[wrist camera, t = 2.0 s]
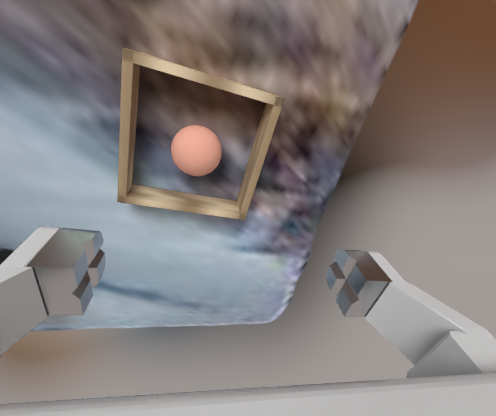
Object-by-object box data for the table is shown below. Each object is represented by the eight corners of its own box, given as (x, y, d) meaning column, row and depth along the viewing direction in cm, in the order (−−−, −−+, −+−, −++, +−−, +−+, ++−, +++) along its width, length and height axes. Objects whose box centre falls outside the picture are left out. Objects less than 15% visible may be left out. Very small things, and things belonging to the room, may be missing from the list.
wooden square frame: (124, 189, 28) (117, 201, 25) (131, 49, 21) (122, 48, 19) (240, 207, 32) (244, 219, 29) (275, 94, 26) (284, 98, 23)
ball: (170, 160, 27) (165, 179, 23) (176, 114, 25) (172, 126, 21) (214, 169, 29) (217, 188, 24) (224, 126, 26) (229, 139, 22)
